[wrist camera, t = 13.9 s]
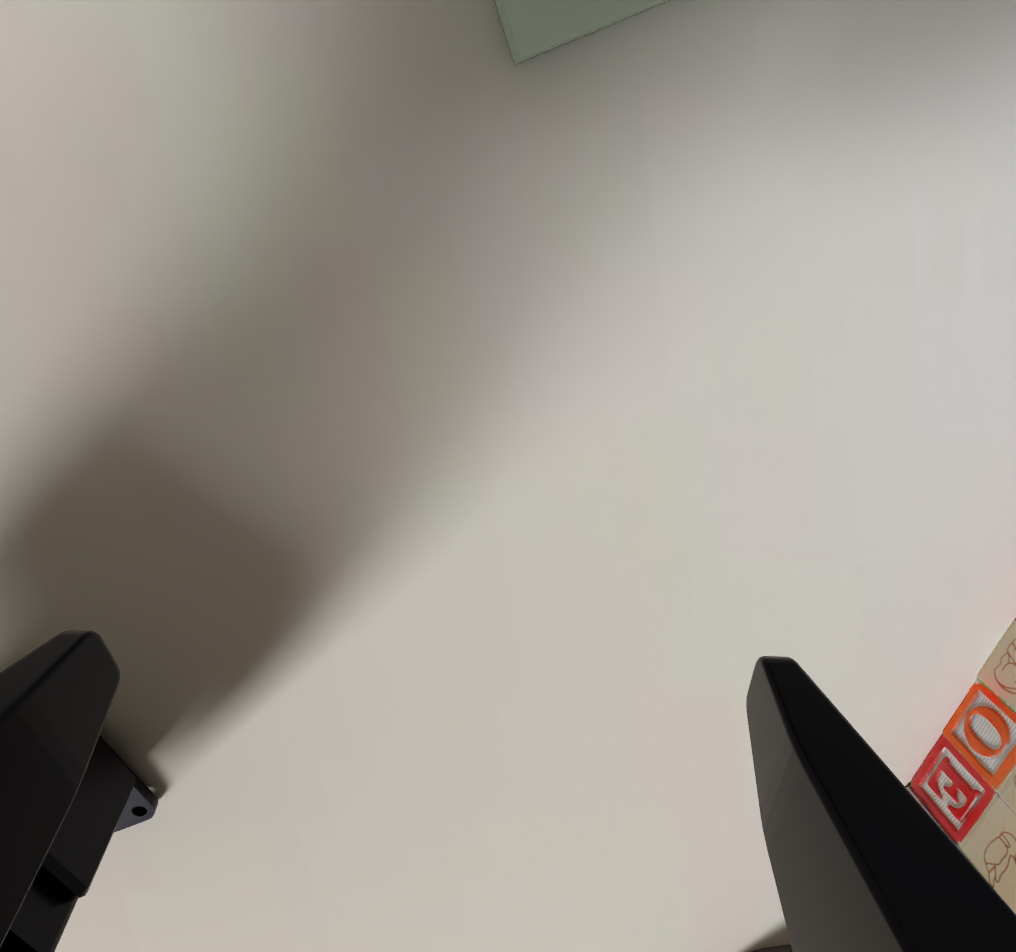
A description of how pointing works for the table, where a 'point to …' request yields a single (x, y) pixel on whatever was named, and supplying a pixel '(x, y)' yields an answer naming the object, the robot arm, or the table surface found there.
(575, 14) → the sage plate
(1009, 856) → the stack of blocks
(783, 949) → the thermos
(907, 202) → the table surface
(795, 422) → the table surface
